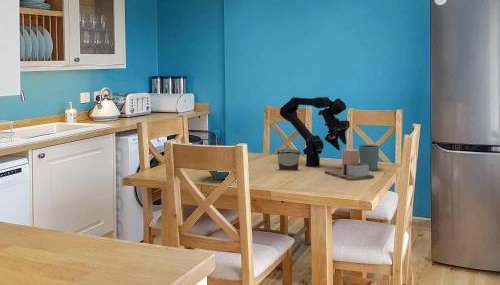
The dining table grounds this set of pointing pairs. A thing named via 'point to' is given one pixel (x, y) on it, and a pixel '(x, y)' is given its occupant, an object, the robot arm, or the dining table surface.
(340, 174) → the walnut board
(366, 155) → the grey embossed cylinder
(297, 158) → the food container
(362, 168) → the grey block
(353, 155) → the terracotta peg
